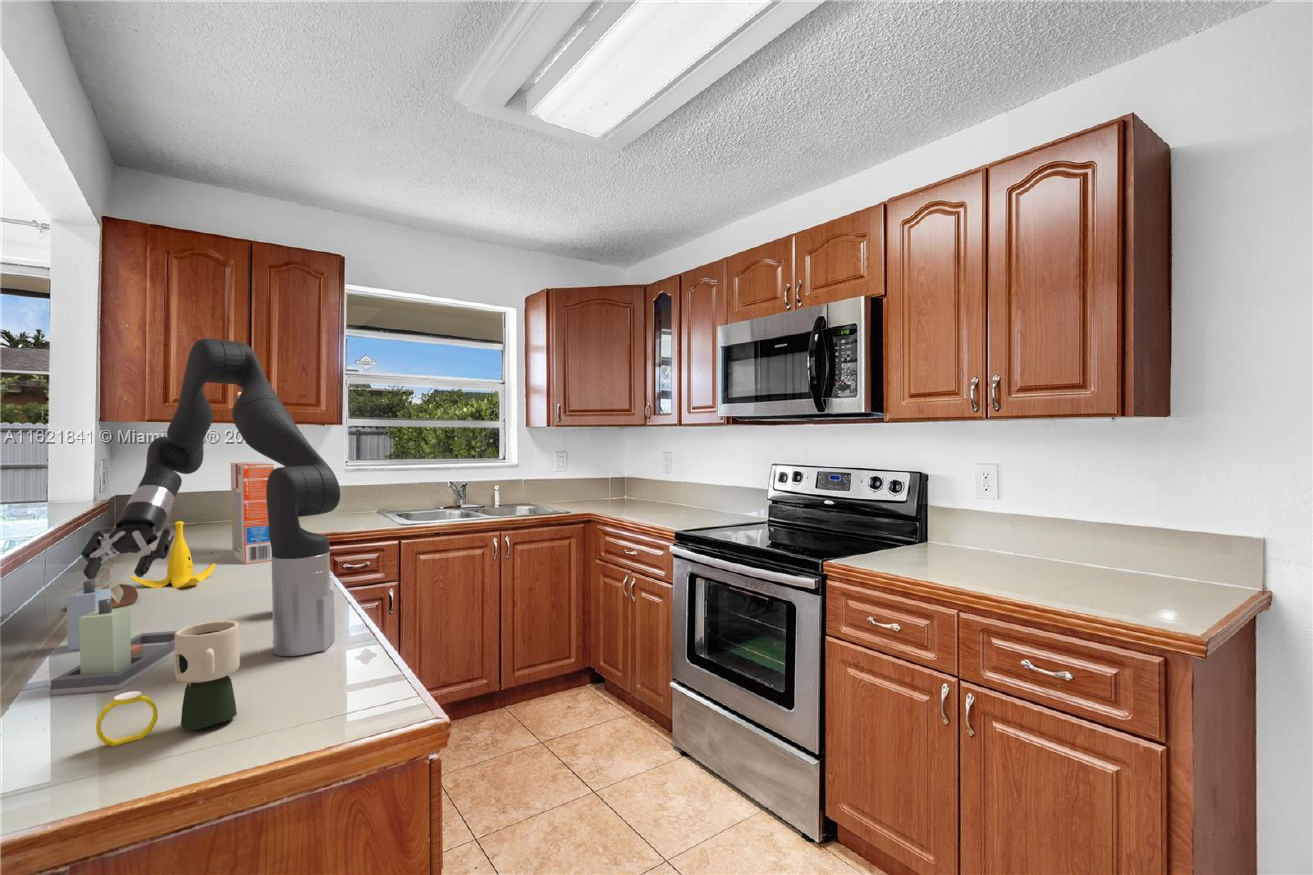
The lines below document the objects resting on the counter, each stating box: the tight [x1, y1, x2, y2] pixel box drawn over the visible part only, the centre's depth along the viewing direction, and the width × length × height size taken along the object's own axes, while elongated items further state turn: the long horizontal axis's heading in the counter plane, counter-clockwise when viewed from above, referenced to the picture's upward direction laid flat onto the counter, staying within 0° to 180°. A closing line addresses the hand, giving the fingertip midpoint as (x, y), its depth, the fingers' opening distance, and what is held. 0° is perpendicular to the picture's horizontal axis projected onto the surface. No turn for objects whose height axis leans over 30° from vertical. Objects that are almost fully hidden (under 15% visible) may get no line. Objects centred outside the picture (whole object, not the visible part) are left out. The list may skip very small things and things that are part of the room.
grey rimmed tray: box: [50, 630, 178, 696], centre depth 108 cm, size 9×23×3 cm, turn 11°
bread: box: [95, 581, 139, 609], centre depth 147 cm, size 11×11×5 cm
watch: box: [95, 690, 159, 747], centre depth 81 cm, size 6×3×6 cm, turn 133°
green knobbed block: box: [79, 599, 132, 675], centre depth 102 cm, size 4×4×12 cm
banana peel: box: [129, 520, 217, 589], centre depth 166 cm, size 17×19×17 cm
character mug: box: [174, 620, 241, 731], centre depth 86 cm, size 11×7×13 cm, turn 37°
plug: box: [66, 580, 111, 651], centre depth 119 cm, size 4×4×12 cm
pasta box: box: [230, 461, 275, 565], centre depth 203 cm, size 23×8×30 cm, turn 41°
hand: (113, 576), depth 125 cm, fingers open, 8 cm apart
